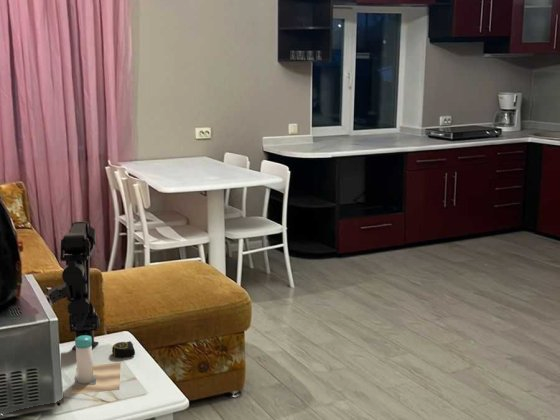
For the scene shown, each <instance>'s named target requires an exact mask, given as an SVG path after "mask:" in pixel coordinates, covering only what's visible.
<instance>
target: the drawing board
mask: <svg viewBox="0 0 560 420" xmlns="http://www.w3.org/2000/svg"><path fill="white" fill-rule="evenodd" d="M121 364H122V363H121V362H112V363H110V362H109V363H99V364H97V363H96V364H93V381H92V382H90V383H87V384H81V383H79V382H78V375H77V368H76V370H75V376H74V381H73V386H72V391H71V394H73V395H74V394H84V393H85V394H86V393H99V392H107V391H119V390H120V385H121V366H122V365H121Z"/></svg>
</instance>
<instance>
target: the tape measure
mask: <svg viewBox="0 0 560 420" xmlns="http://www.w3.org/2000/svg"><path fill="white" fill-rule="evenodd" d="M111 352H112V353H111V354H112V355H113V357H114V358H116V359H117V358H118V359H126V358H132V357H134V356H135V354H136V350H135V348H134V343H133V342H132V341H131V340H130V341H119V342H116V343H114V344H113V345H112V348H111Z"/></svg>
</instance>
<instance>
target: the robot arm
mask: <svg viewBox="0 0 560 420" xmlns="http://www.w3.org/2000/svg"><path fill="white" fill-rule="evenodd" d="M96 233H97V232H96V229H95V228H93V227H92V226H90V225H89V222H88V221H86V220H84V221H82V220H81V221H74V222H72V223H71V228H70V229H69V230H68V233H66V234H64V235H63V237H62V238H61V239H60V257H59V258H60V259H59V260H60V262H65V266H64V268H63V270H62V274H61V277H62V280H63V282H64V283H63V284H60V285H57V286H56V287H55V286H54V287H52V288H50V289H48V290H47V297H48V299H49V301H50V302H51V304H56V303H57V302H58V301H61V300H63V299H65V298H66V300H67V301H68V302H67V303H66V304H67V305H66V306H67V313H68V314H69V316H68V323H69V331H70V333H75V338H76V337H79V336H83V335H87V336H91V337H92V350H93V349H95V348H96V347H97V346H98V345H99V341H95V333H94V332H96V331H98V330H100V329H101V328H100V327H101V326H100V324H101V323H100V317H99V316H98V313H97V312H96V311H95V307H94V305H93V304H92V302H91V300H90V299H91V297H90V296H91V293H90V292H91V291H90V289H91V288H90V286H91V285H90V283H91V281H90V279H91V278H90V271H91V270H90V268H91V267H90V263H91V262H90V259H91V257H92V255H93V254H94V252H95V246H96V245H97V234H96ZM71 350H75V351H76V346H75V345H73V346H72V347H71Z"/></svg>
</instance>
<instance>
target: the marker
mask: <svg viewBox="0 0 560 420" xmlns="http://www.w3.org/2000/svg"><path fill="white" fill-rule="evenodd" d="M74 344H75V345H74V346H76V350H75V355H76V356H75V357H76V369H77V375H78V382H79V383H81V384H87V383H90V382H92V381H93V365H94V364H93V363H94V362H93V349H92V337H91V336H87V335H83V336H79V337H76V336H75V338H74Z"/></svg>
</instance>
